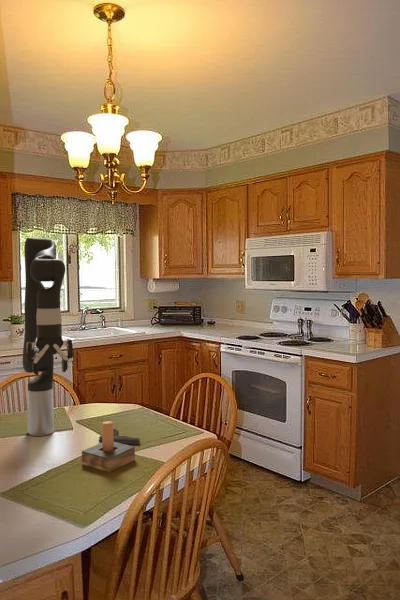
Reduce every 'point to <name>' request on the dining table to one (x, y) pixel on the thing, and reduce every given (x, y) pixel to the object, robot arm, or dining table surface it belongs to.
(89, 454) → the socket
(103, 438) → the peg
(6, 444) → the dining table surface
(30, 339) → the robot arm
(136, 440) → the pistol
